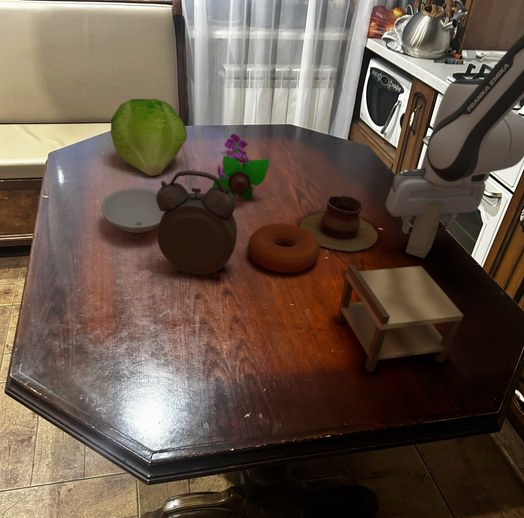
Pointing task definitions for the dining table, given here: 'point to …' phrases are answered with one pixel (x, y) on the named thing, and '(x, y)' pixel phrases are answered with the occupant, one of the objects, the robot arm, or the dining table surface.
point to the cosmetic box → (424, 230)
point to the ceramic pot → (341, 225)
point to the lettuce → (147, 134)
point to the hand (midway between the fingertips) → (424, 231)
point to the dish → (133, 209)
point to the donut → (283, 248)
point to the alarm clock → (196, 225)
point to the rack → (398, 313)
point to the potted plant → (232, 172)
